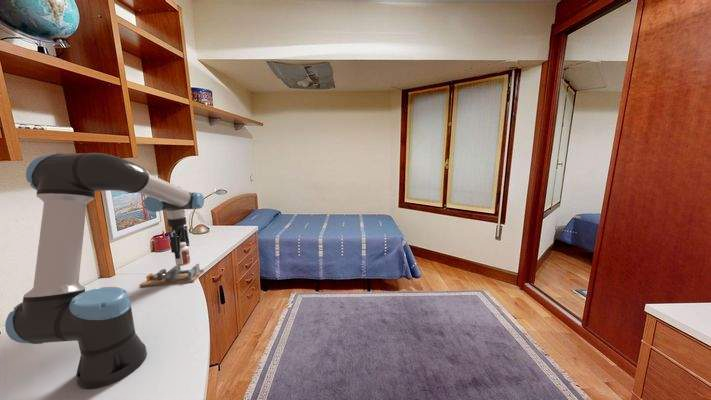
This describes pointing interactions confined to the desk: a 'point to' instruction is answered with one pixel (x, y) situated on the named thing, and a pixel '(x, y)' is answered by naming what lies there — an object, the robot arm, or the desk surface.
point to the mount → (174, 276)
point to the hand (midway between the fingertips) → (182, 261)
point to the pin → (153, 276)
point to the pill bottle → (184, 254)
